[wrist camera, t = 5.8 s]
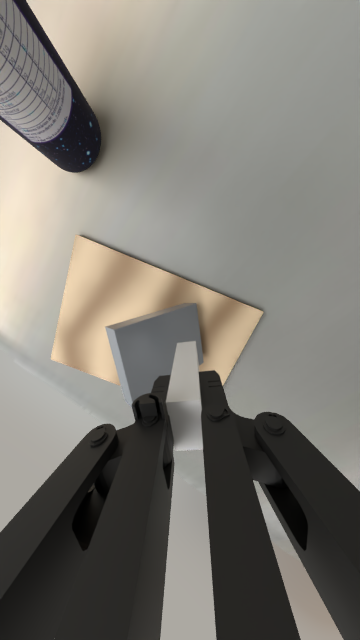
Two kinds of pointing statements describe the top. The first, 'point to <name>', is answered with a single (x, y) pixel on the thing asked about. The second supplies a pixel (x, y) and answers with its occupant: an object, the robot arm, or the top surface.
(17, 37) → the beverage can
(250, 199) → the top surface
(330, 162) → the top surface
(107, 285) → the cork mat
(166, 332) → the slate tile
